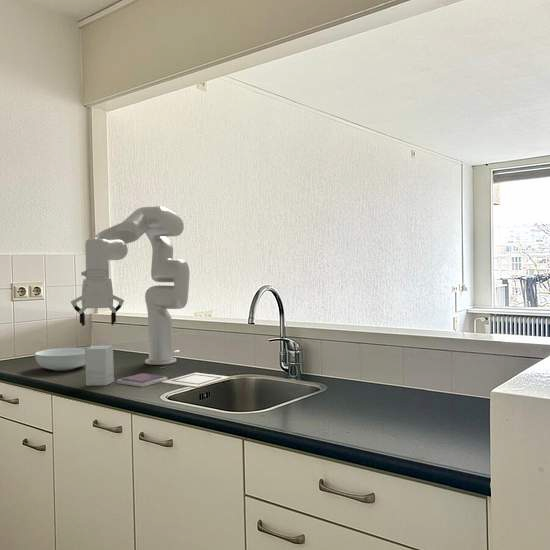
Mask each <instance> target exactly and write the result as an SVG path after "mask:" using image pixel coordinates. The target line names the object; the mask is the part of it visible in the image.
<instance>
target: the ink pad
mask: <svg viewBox="0 0 550 550" xmlns="http://www.w3.org/2000/svg"><path fill="white" fill-rule="evenodd" d="M166 380H168V376H165V375H160V374H159V375H158V374H152V373H151V374H150V373H137V374H134V375H130V376H126V377H121V378H119V379H116V383H117V384H119V385H128V386H134V387H139V388H144V387H147V386H151V385H155V384H158V383H161V382H163V381H166Z"/></svg>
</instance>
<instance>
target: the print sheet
mask: <svg viewBox="0 0 550 550" xmlns="http://www.w3.org/2000/svg"><path fill="white" fill-rule="evenodd" d="M230 378H231V376H227V375H219V374H218V375H217V374H212V373H211V374H210V373H209V374H208V373H202V372H201V373H200V372H193V373H189V374H186V375H181V376H178V377H174V378H171V379H167V380H166V381H163V382H160V383H162V384H168V385H169V384H170V385H175V386H176V385H177V386H182V387H183V386H184V387H188V388H190V387H191V388H196V389H197V388H200V387H204V386H207V385H210V384H213V383H218V382H220V381H224V380H226V379H227V380H228V379H230Z"/></svg>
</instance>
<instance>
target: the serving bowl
mask: <svg viewBox="0 0 550 550" xmlns="http://www.w3.org/2000/svg"><path fill="white" fill-rule="evenodd" d="M85 349H86V347H85V348H84V347H62V348H59V347H58V348H49V349H44V350H39V351H36V352H35V353H34V358H35V361H36V363H37V364H38V365H39V366H40V367H41V368H44V369H47V370H50V371H51V370H52V371H55V372H61V371H62V372H63V371H64V372H65V371H71V370H75V369H77V368H80V367H82V366H84V365H85Z"/></svg>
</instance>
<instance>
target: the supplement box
mask: <svg viewBox="0 0 550 550" xmlns="http://www.w3.org/2000/svg"><path fill="white" fill-rule="evenodd" d="M84 365H85V380H86V381H85V382H86V385H85V386H88V387H89V386H108V385H109V384H112V383H113V382H115V376H114V375H115V374H114V373H115V370H114V369H115V368H114V367H115V366H114V346H113V345H91V346H90V347H89V346H88V347H87V348H86V347H85V364H84Z"/></svg>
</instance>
